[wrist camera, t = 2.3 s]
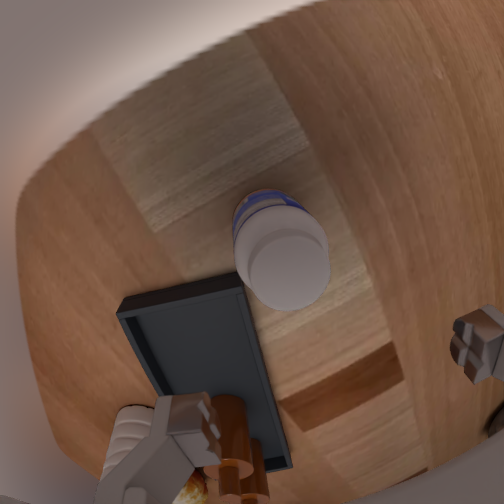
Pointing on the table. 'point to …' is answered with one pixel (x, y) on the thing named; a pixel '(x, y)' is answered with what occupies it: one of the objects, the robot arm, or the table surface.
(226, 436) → the amber bottle
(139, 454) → the robot arm
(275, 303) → the pill bottle
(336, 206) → the table surface
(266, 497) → the amber bottle
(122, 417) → the water bottle
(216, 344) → the tray
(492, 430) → the bowl
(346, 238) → the table surface
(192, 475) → the fruit
